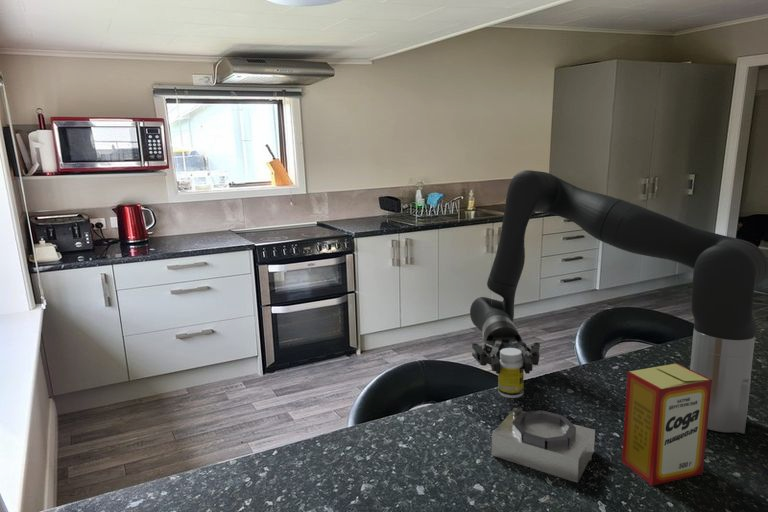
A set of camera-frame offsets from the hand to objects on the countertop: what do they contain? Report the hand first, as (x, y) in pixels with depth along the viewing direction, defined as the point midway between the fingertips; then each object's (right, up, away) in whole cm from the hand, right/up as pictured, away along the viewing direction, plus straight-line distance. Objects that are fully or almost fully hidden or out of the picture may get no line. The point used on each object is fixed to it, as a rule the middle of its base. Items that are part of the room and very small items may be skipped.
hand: (513, 368), depth 97 cm
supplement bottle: (+1, -6, +4) cm, 7 cm away
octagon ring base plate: (+3, -12, -9) cm, 15 cm away
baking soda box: (+20, -13, -14) cm, 28 cm away
